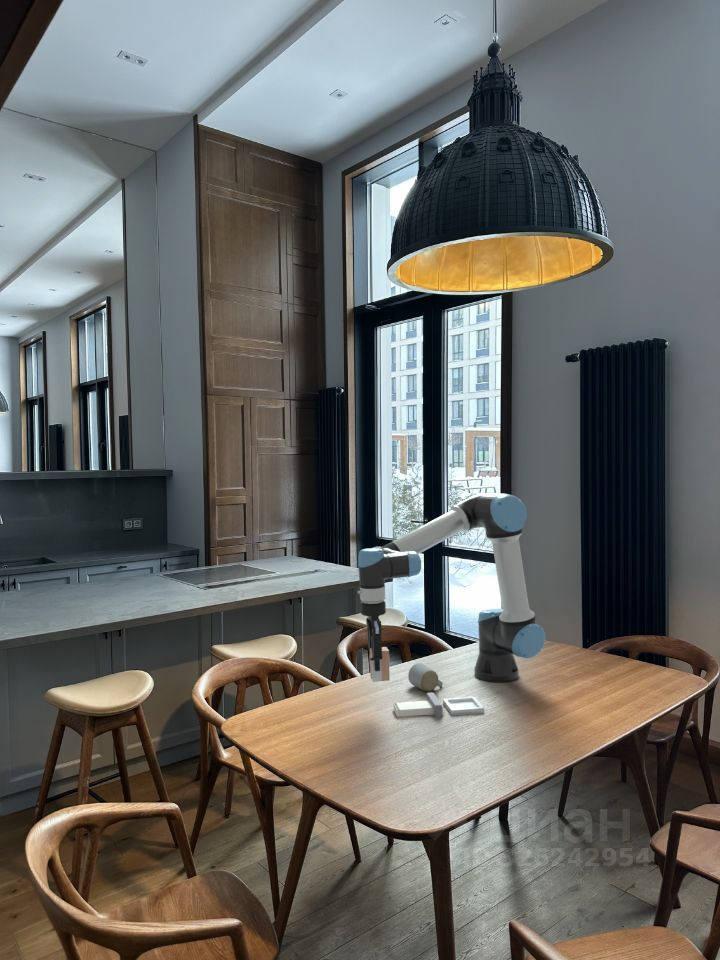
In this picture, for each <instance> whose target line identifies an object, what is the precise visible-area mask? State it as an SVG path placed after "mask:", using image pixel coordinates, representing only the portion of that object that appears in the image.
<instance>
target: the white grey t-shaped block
mask: <svg viewBox="0 0 720 960" xmlns="http://www.w3.org/2000/svg"><path fill="white" fill-rule="evenodd" d="M392 704H393V712H394V713H395V715H396V717H398V718H400V717H401V718H403V717H413V716H414V717H415V716H425V715H427V716H428V715H429V716H430V715H434V717H435V718H442V717H443V714H444V706H443V705H442V704H443V703H441V702H440V700H439V699H438V697H437V696H436V694H435V693H434V692H426V700H419V701H417V700H416V701H406V702H404V701H403V702H402V701H401V702H393V703H392Z"/></svg>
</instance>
